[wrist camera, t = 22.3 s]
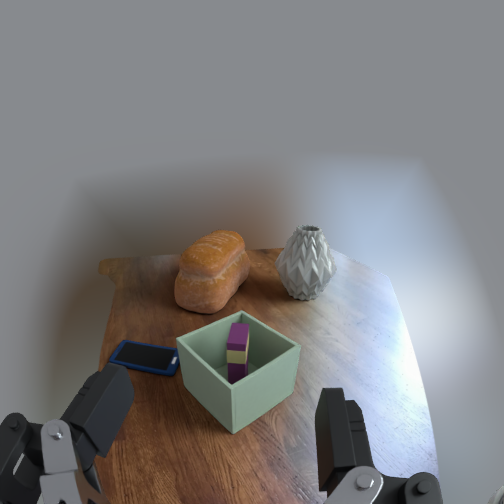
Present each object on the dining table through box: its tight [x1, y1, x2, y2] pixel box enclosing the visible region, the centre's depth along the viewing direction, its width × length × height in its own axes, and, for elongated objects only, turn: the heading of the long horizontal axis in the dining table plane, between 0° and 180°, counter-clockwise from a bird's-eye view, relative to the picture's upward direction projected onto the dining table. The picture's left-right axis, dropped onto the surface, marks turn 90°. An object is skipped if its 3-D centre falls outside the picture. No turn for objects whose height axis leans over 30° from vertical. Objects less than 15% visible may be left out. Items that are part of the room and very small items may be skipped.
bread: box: [175, 230, 250, 314], centre depth 76 cm, size 14×26×15 cm, turn 162°
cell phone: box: [109, 340, 180, 376], centre depth 50 cm, size 7×14×1 cm, turn 85°
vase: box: [275, 225, 337, 300], centre depth 74 cm, size 16×16×18 cm
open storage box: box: [176, 311, 301, 434], centre depth 42 cm, size 13×13×11 cm
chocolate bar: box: [227, 323, 249, 385], centre depth 42 cm, size 5×3×12 cm, turn 175°
